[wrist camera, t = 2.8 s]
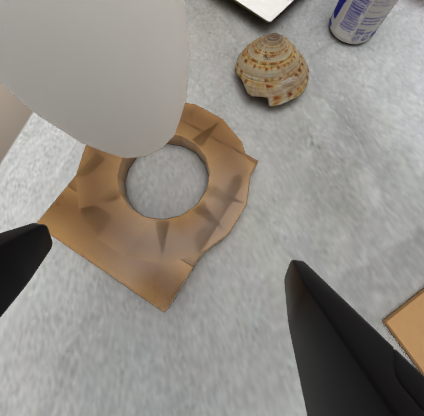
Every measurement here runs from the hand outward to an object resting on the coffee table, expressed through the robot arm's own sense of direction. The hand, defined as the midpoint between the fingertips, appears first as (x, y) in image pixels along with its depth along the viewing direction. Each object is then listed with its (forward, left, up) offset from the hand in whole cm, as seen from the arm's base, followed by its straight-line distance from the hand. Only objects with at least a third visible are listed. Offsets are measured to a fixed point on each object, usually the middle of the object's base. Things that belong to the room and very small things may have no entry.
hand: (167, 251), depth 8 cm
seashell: (+22, +4, -14) cm, 26 cm away
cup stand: (+4, +7, -14) cm, 16 cm away
